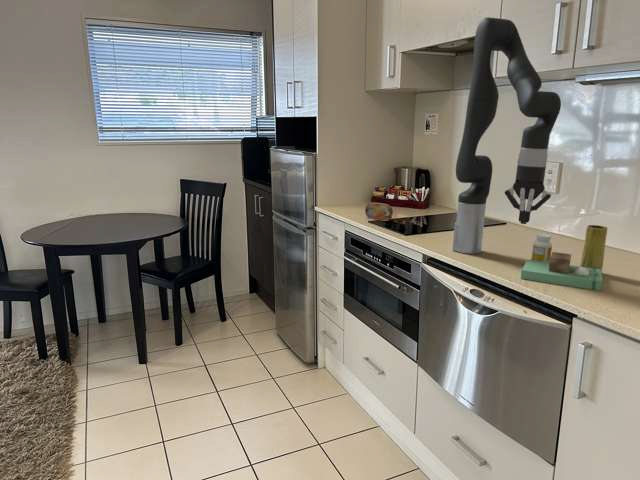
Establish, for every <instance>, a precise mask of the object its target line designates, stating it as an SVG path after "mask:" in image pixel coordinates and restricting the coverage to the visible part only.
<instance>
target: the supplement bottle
mask: <svg viewBox="0 0 640 480" xmlns="http://www.w3.org/2000/svg"><path fill="white" fill-rule="evenodd" d="M551 238H552V237H551V235H549V234H543V233H540V234H539V233H538V234H536V240H535V241H533V245H532V251H531V252H532V253H531V259H530V260H536V261H543V262H550V258H551V255H552V251H553V250H552V248H553V244H552V242H550V241H551Z"/></svg>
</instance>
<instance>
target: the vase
mask: <svg viewBox="0 0 640 480" xmlns="http://www.w3.org/2000/svg"><path fill="white" fill-rule="evenodd" d="M585 231H586V233H585V237H584V238H585V239H584V245H583V250H582V256H581V262H580V267H587V268H595V269H601V272H602V273H603V266H604V260H605V257H604V256H605V250H606V249H605V248H606V240H607V235H608V227H607V226H604V225H598V224H597V225H595V224H590V225H587V227H586V230H585Z"/></svg>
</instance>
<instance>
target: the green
mask: <svg viewBox="0 0 640 480" xmlns="http://www.w3.org/2000/svg"><path fill="white" fill-rule="evenodd" d="M549 265H550V262H543V261H536V260H531V259H526V261H525V263H524V265H523V267H522V269H521V272H520V279H521V280H522V279H523V280H527V281H535V282H542V283H547V284H553V285H554V284H555V285H560V286H565V287H566V286H567V287H574V288H579V289H587V290H593V291H602V286H603V271H602V272H601V269H595V268H587V267H584V268H586V269H587V270H588V271H589V275H578V274H573V272H574V270H575V269H576V268H578V267H580V266H581V265H580V266H579V265H571V264H570V267H569V273H568V274H564V273H557V272H550V271H549Z"/></svg>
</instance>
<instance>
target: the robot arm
mask: <svg viewBox="0 0 640 480" xmlns="http://www.w3.org/2000/svg"><path fill="white" fill-rule="evenodd" d="M474 35H475V36H474V44H473V45H474V46H473V63H472V74H471V81H470V89H469V93H468V94H469V95H468V97H467V98H468V101H467V106H466V112H465V113H466V114H465V122H464V128H463V134H462V138H461V139H462V140H461V144H460V147H459V151H458V155H457V159H456V164H455V176H456V179H457V181H458V182H459V183H462V184H469V183H470V184H471V185H470V187H468V188H467V189H466V190H465V191H462V192H461V193H459V194H458V198H457V200H458V201H457V210H456V211H457V213H456V222H455V223H454V228H453V240H452V251H454V252H458V253H462V254H469V255H470V254H481V252H482V248H483V239H484V228H485V227H484V226H485V216H486V209H487V207H486V206H487V199H488V197H489V194H490V190H491V184H492V177H493V162H492V160H491V158H490V157H489V156H488V155H478V154H477V148H478V145H479V143H480V140H481V138H482V137H483V136H484V134H485V133H486V131H487V130H488V129H489V127H490V126H491V124H492V123H493V121H494V119H495V118H496V114H497V109H498V103H499V98H500V97H499V90H498V87H497V84H496V81H495V78H494V75H493V71H492V67H491V59H492V57H491V55H492V51H494V52H501V53H502V54H504V55H505V56H506V58H507V60H508V61H507V68H506V75H507V77H508V81H509V83H510V84H511V85H512V87H513V89H514V90H515V93H516V98H517V103H518V109H519V111H520V112H521V114H523V115H524V116H525V117H527V118H537V119H536V121H535V124H533V125H532V126H527V127H525V128H524V129H523V131H522V138H521V143H520V151H519V153H518V158H517V166H516V167H517V168H516V173H515V174H516V175H515V181H514V182H513V185H512V187H511V188H509V189H506V190H505V191H504V195H505V196H506V197H507V200H508V201H509V202H510V204H511V205H512V207H513V208H514V209H516V210H518V211H519V212H518V213H519V215H518V222H519V223H520V225H521V224H522V225H526V224H527V223H529V222H530V221H531V219H530V218H531V213H532V211H537V210H538V209H539V208H541V207H542V206H543V205H544V204H545V203H547V201H548V200H549V199H551V197H552V194H551V193H549V192H547V190H546V186H545V185H544V182H545V178H546V177H545V175H546V170H547V163H548V152H549V151H548V150H549V143H550V136H551V133H552V130H553V128H554V126H555V123H556V121H557V119H558V116H559V115H560V111H561V107H562V100H561V97H560V96H559V94H558V93H557V92H555V91H543V90H542V91H541V90H540V89H541V88H542V83H543V82H542V78H541V77H540V75H539V73H538V72H537V71H536V69H535V68H534V65H532V63H531V61H530V59H529V57H528V55H527V52H526V50H525V47H524V43H523V42H522V39H521V36H520V33H519V31H518V29H517V26H516V25H515V23H514V22H513V21H512V20H511V19H506V18H497V17H496V18H495V17H484V18H482V19H481V20H480V22H479V23H478V25H477V27H476V30H475V34H474ZM476 154H477V155H476ZM515 194H516V195H517V197H518V198H519V202H518V200H517V199H516V197H514V196H515ZM540 195H541V196H540ZM539 196H540V198H541V199H540V200H539V201H538V202H537V203H535V205H533V203H534V200H536V199H537V198H538V197H539ZM526 200H527V201H526Z"/></svg>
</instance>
